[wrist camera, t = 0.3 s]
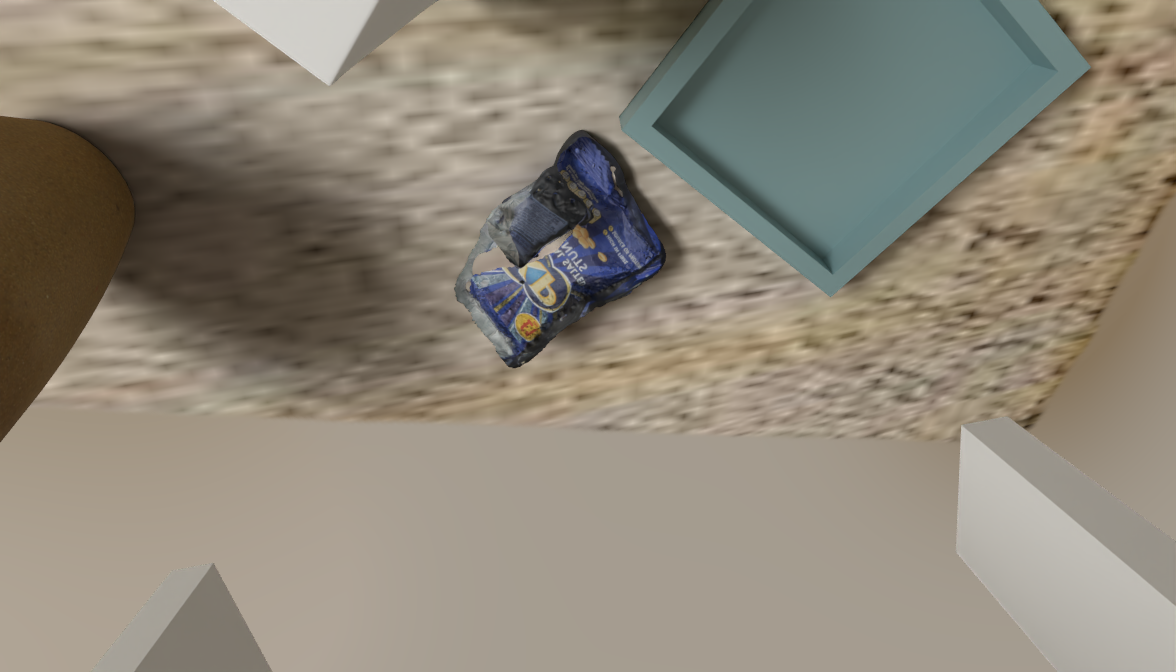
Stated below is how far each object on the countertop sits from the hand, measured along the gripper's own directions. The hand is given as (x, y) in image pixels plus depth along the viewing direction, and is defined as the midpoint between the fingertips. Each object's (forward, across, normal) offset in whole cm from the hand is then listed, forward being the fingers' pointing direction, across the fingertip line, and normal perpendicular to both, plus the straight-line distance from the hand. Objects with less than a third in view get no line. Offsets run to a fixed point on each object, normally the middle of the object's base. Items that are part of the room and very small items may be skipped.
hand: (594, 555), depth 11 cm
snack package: (+26, -1, 0) cm, 27 cm away
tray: (+24, +14, +5) cm, 28 cm away
